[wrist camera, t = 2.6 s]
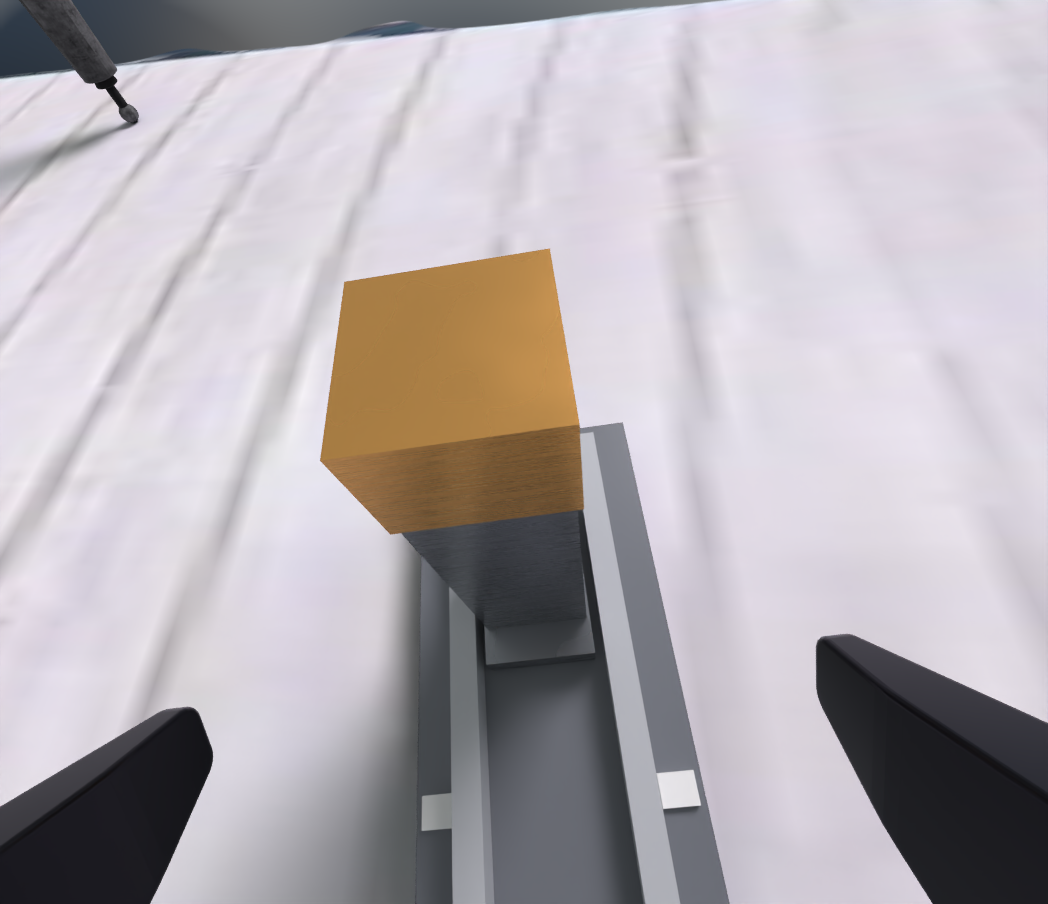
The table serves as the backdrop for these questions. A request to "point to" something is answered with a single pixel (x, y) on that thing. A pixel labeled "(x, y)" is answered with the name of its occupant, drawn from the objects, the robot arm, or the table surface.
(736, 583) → the table surface
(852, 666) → the robot arm
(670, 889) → the fader track
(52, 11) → the microphone
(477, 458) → the block
